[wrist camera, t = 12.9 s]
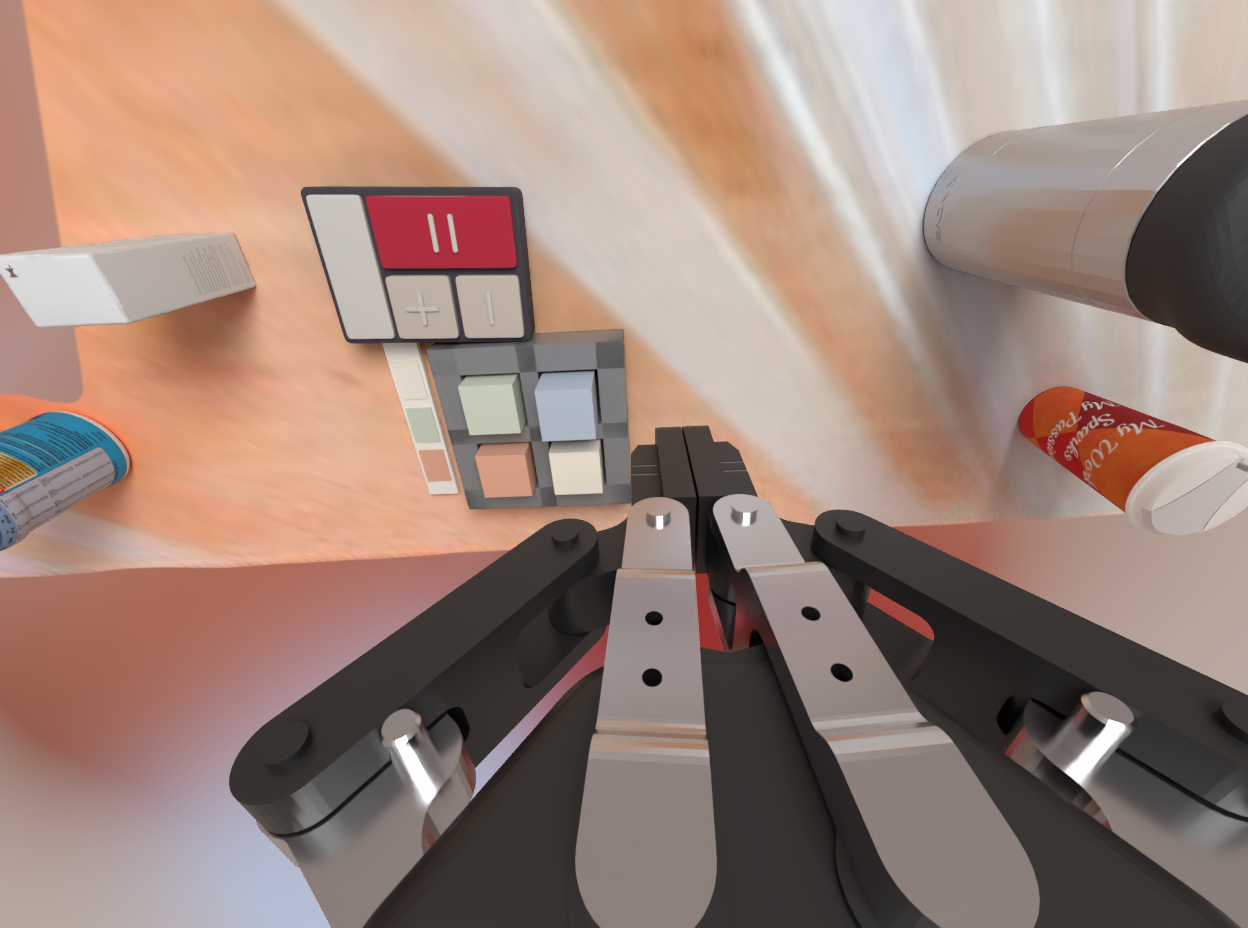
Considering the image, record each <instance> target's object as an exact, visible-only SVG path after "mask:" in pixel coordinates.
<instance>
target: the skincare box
mask: <svg viewBox="0 0 1248 928" xmlns="http://www.w3.org/2000/svg"><path fill="white" fill-rule="evenodd" d="M0 274H1V275H2V277H3V278H4V280H5V281H6V283H7V284H8V286H9V287H10V288H11V290H12V292H13V293H14V295H15V296H16V298H17V299H18V300H19V302H20V303H21V305H22V306H23V308H24V309H25V311H26V312H27V314H28V315H29V317H30V318H31V319H32V321H33V322H34V323H35V325H36V326H37V327H41V328H43V327H75V326H89V325H109V324H130V323H133V322H137V321H140V320H144V319H147V318H151V317H154V316H157V315H161V314H164V313H168V312H171V311H175V310H178V309H182V308H185V307H189V306H192V305H196V304H199V303H202V302H206V301H209V300H213V299H216V298H219V297H223V296H226V295H230V294H233V293H237V292H240V291H243V290H246V289H250V288H254V287H255V285H256V284H255V281H254V279H253V277H252V275H251V272H250V270H249V268H248V265H247V263H246V260H245V258H244V256H243V253H242V251H241V248H240V246H239V244H238V241H237V239H236V237H235V234H234V233H203V234H180V235H158V236H150V237H142V238H133V239H125V240H117V241H110V242H101V243H93V244H85V245H76V246H68V247H59V248H51V249H43V250H34V251H24V252H17V253H9V254H2V255H0Z"/></svg>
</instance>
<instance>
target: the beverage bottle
mask: <svg viewBox="0 0 1248 928" xmlns="http://www.w3.org/2000/svg"><path fill="white" fill-rule="evenodd" d="M129 468H130V459H129V455H128V453H127V450H126V449H125V447H124V445H123V444H122V443H121V441H120V440H119V439H118V438H117V437H116V436H115V435H114V434H113V433H112V432H111V431H110V430H108V429H107V428H106V427H104V426H103V425H101V424H100V423H98V422H96V421H94V420H92V419H90V418H88V417H86V416H83V415H80V414H77V413H72V412H67V411H51V412H47V413H43V414H41V415H38V416H36V417H33V418H31V419H29V420H28V421H26V422H24V423H22V424H19V425H17V426H15V427H12V428H10V429H7V430H5V431H2V432H0V551H1V550H4V549H7V548H9V547H11V546H13V545H15V544H16V543H18V542H20V541H21V540H23V539H24V538H25V537H26V536H27V535H28V533H29V532H30V531H32V530H34V529H35V528H37V527H39V526H40V525H42V524H44V523H45V522H47V521H49V520H50V519H52V518H54V517H56V516H57V515H59V514H61V513H62V512H64V511H66V510H67V509H69V508H71V507H72V506H74V505H76V504H77V503H79V502H81V501H83V500H84V499H86V498H88V497H89V496H91V495H93V494H95V493H96V492H98V491H100V490H102V489H104V488H106V487H109V486H111V485H113V484H114V483H116V482H118V481H120V480H121V479H122V478H124V477H125V476H126V474H127V473H128V471H129Z"/></svg>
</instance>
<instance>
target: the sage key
mask: <svg viewBox="0 0 1248 928" xmlns="http://www.w3.org/2000/svg"><path fill="white" fill-rule="evenodd" d="M458 390H459V394H460V398H461V402H462V406H463V410H464V414H465V418H466V422H467V426H468V430H469V435H488V434H512V433H521V432H522V429H523V427H524V424H525V422H526V420H527V414H526V408H525V402H524V396H523V390H522V385H521V379H520V373H502V374H480V375H467V376H466V377H465V379H464V380H463V381H462V382H461V383H460V385H459V386H458Z"/></svg>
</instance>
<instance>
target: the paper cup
mask: <svg viewBox="0 0 1248 928" xmlns="http://www.w3.org/2000/svg"><path fill="white" fill-rule="evenodd" d="M1018 425H1019V430H1020V432H1021V433H1022V434H1023V435H1024V436H1025V437H1026V438H1027V439H1028V440H1030V441H1031V442H1032V443H1033V444H1035V445H1036V446H1037V447H1039V448H1040V449H1041V450H1042V451H1044V452H1045V453H1046V454H1048V455H1049V456H1050V457H1052V458H1053V459H1054V460H1056V461H1057V462H1058V463H1060V464H1061V465H1062V466H1064V467H1065V468H1066V469H1068V470H1069V471H1070V472H1072V473H1073V474H1074V475H1076V476H1077V477H1078V478H1080V479H1081V480H1082V481H1084V482H1085V483H1086V484H1088V485H1089V486H1090V487H1092V488H1093V489H1094V490H1096V491H1097V492H1098V493H1100V494H1101V495H1102V496H1104V497H1105V498H1106V499H1108V500H1109V501H1110V502H1112V503H1113V504H1114V505H1116V506H1117V507H1118V508H1120V509H1121V510H1122V511H1124V512H1125V513H1126V516H1127V518H1128V519H1129V521H1130V523H1131V525H1132V526H1133V527H1134V528H1136V529H1138V530H1142V531H1148V532H1152V533H1155V534H1168V535H1187V534H1193V533H1198V532H1202V531H1206V530H1208V529H1211V528H1213V527H1216V526H1217V525H1220V524H1222V523H1224V522H1225V521H1227V520H1229V519H1231V518H1232V517H1234V516H1235V515H1237V514H1238V513H1239V512H1240V511H1242V510H1243V509H1244V508H1245V507H1246V506H1248V450H1247V449H1246V448H1245V447H1243V446H1242V445H1240V444H1237V443H1234V442H1228V441H1216V440H1213V439H1211V438H1208V437H1205V436H1203V435H1200V434H1198V433H1195V432H1193V431H1190V430H1187V429H1185V428H1182V427H1180V426H1177V425H1174V424H1171V423H1168V422H1166V421H1163V420H1160V419H1157V418H1154V417H1152V416H1149V415H1146V414H1144V413H1141V412H1138V411H1136V410H1133V409H1130V408H1128V407H1125V406H1122V405H1120V404H1117V403H1114V402H1112V401H1109V400H1106V399H1103V398H1101V397H1098V396H1095V395H1093V394H1090V393H1087V392H1084V391H1081V390H1078V389H1075V388H1071V387H1056V388H1052V389H1049V390H1047V391H1044V392H1042V393H1041V394H1039V395H1037V396H1036V397H1035V398H1033V399H1032V400H1031V401H1030V402H1029V403H1028V404H1027V405H1026V407H1025V408H1024V409H1023V411H1022V413H1021V415H1020V418H1019V423H1018Z"/></svg>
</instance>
